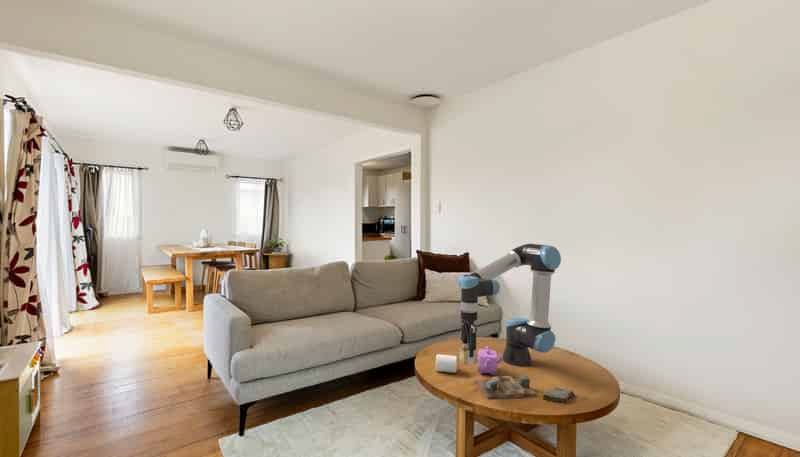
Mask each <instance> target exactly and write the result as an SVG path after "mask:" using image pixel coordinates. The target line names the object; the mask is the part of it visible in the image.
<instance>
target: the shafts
mask: <svg viewBox="0 0 800 457" xmlns="http://www.w3.org/2000/svg"><path fill="white" fill-rule="evenodd" d="M530 378H531V377H529V376H528V375H527V376H516V379H517V382H518V383H519V384H520V385H521V386H522V387H523V388H529V387H530V388H531V386H530V385H531V384H530V382H531V381H530V380H531V379H530ZM487 380H488V381H486V389H487V390H489V391H491V392H494V391H497V385H499V384H500V379H498V378H494V379H492V378H491V379H487Z"/></svg>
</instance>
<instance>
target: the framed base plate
mask: <svg viewBox="0 0 800 457" xmlns="http://www.w3.org/2000/svg"><path fill="white" fill-rule="evenodd" d="M494 378H498V379H500V384H499V385H497V391H494V392H491V391H489V390H487V389H486V381H488V380H489V379H482V380H480V379H479V380H478V379H476V380H475V379H474V384H475V386H476V387H477V388H478V389H479V390H480V392H481V393H482V394H483V396H484V397H485V399H488V400H491V399H493V400H495V399H510V398H511V399H513V398H528V397H530V398H532V397H538V393H537V392H536V391H535V390H534V389H533V388H532V387H531V386H530V387H529V388H523V387H522V386H521V385H520V384H519V383H518V382H517V378H513V377H512V376H510V375H508V376H506V375H505V376H504V375H503V376H491V379H494Z"/></svg>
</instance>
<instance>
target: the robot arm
mask: <svg viewBox="0 0 800 457" xmlns="http://www.w3.org/2000/svg"><path fill="white" fill-rule="evenodd" d="M561 260H562V256H561V253H560V251H559V250H558V249H557V247H555V246H553V245H548V244H538V243H526V244H522V245H519V246H517V247H515V248H512V249H511V250H509V251H508V252H507V254H505V255H504V256H502V257H499V258H498V259H496V260H494V261H492V262H491V263H489V264H487V265H485V266H484V267H483V266H482V267H481V268H480V269H477V270H476V271H474V272H472V273H470V274H461V275H460V276H459V277H458V279H457V284H458V286H459V288H460V293H461V294H460V296H461V298H460V304H459V306H460V309H461V311H460V319H461V335H460V336H461V337H460V340H461V343H462V347H464V346H468V347H469V349H467V350H468V359H467V364H466V365H475V364H474V350H477V331H478V329H477V327H475V323H474V322H475V321H477V320H478V316H479V315H478V314H479V313H478V309H479V298H480V297H493V296H497V295H498V294H499V293H500V289H501V286H500V283H499V281H498V280H496V278H498V277H499V276H501V275H503V274H505V273H506V272H508V271H511V270H512V269H513V268H514V269H515V268H519V267H522V266H530V271H531V272H532V288H531V289H532V290H531V302H530V305H531V306H530V314H529V316H530V318H529V319H528V318H522V317H512V318H508V319H507V322H506V325H505V326H506V327H505V328H506V335H505V337H506V338H505V347H504V350H503V352H502V355H501V356H502V357H503V360H502V362H505V363H507V364H509V365H513V366H517V367H525V366H529V365H531V364H532V356H531V353H530V350H529V348H530V349H532V350H534V351H535V352H539V353H544V354H545V353H548V352H549V351H551V350H552V348H554V345H555V342H556V335H555V333H554V332H553V331H552V324H550V323H549V314H550V297H551V295H550V294H551V283H552V282H551V281H552V275H553V274H555V273H556V272H555V271H556V270H557V269H558V268H559V267H560V265H561V262H562V261H561Z"/></svg>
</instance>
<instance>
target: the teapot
mask: <svg viewBox="0 0 800 457" xmlns="http://www.w3.org/2000/svg"><path fill="white" fill-rule="evenodd" d="M477 358H478V359H477V367H478V368H477V370H478V373H479V374H480V375H484V374H490V375H491V376H495V375H497V373H498V371H497V369H498V364H500V363H501V362H503V357H502V355H498V354H497V351H496V350H492V349H489V346H487V345H486V346H485V349H483V348H482V349H481V348H478V351H477ZM498 358H499V359H498Z"/></svg>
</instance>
